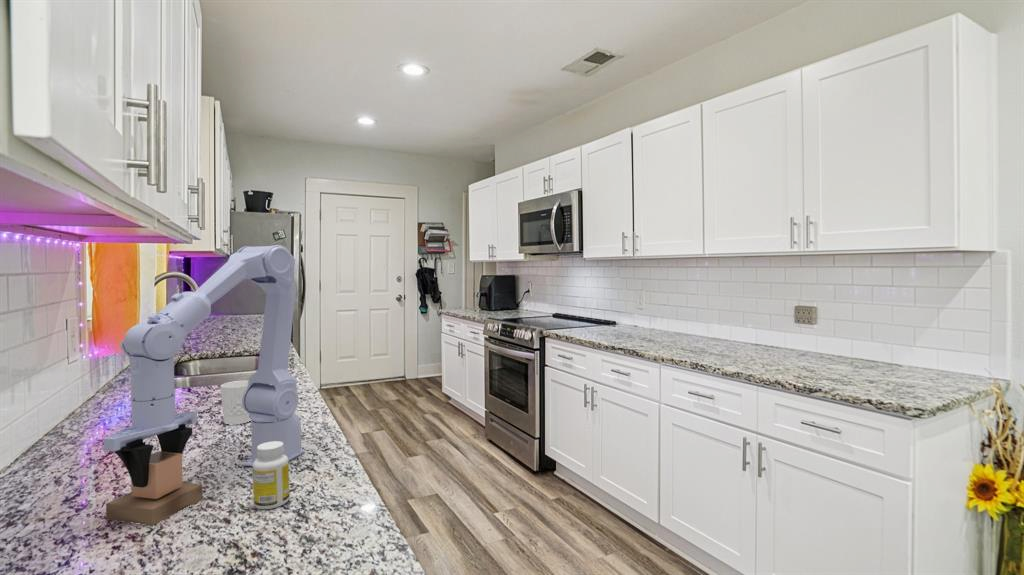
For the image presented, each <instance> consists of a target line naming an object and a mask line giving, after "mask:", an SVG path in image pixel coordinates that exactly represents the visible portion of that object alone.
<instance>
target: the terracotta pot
mask: <svg viewBox="0 0 1024 575" xmlns="http://www.w3.org/2000/svg"><path fill="white" fill-rule="evenodd" d="M183 482H184V481H183V453H171V452H161V450H159V451H158V450H157V451H155V452H152V453H151V456H150V461H149V478H148V484H147V486H146V487H143V488H142V487H134V486H133V483H132V480H131V479H130V485H131V486H130V488H131V492H130V493H131V496H135V497H143V498H152V499H158V498H160V497H162V496H164V495H165V494H167V493H169V492H171V491H173V490H175V489H177V488H179V487H181V486H183Z"/></svg>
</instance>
